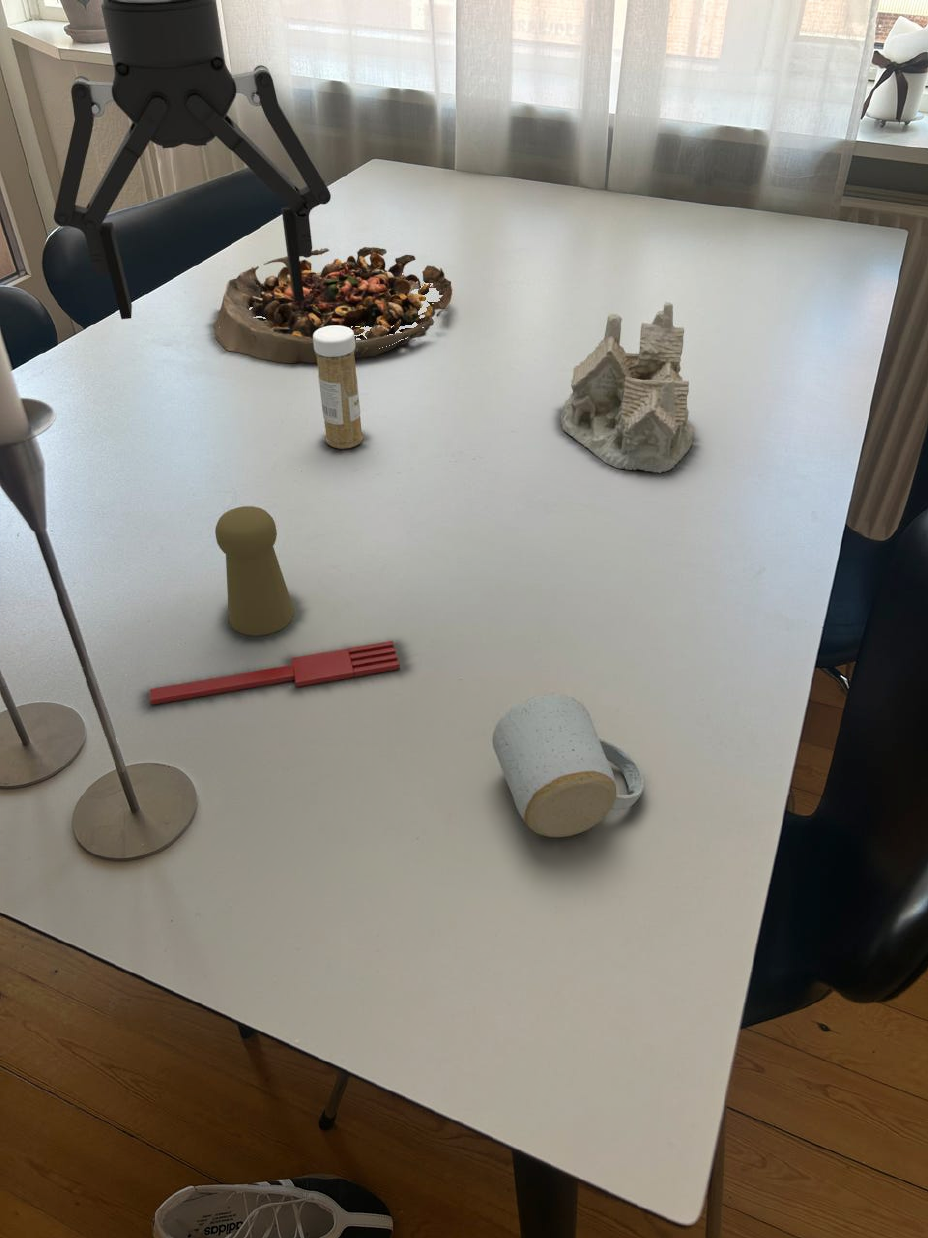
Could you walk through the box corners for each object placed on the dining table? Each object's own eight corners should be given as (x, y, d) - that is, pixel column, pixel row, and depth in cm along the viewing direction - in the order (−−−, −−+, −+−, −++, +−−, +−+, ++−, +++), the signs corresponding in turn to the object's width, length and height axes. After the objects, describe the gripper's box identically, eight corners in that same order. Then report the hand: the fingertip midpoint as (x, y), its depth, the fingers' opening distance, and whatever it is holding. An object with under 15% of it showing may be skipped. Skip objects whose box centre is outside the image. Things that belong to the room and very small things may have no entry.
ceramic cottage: (573, 392, 122) (584, 279, 112) (702, 418, 118) (726, 303, 108) (536, 459, 112) (544, 340, 102) (675, 490, 108) (699, 370, 97)
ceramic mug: (522, 855, 69) (528, 784, 64) (489, 770, 75) (492, 699, 70) (659, 824, 71) (675, 752, 66) (617, 744, 77) (628, 673, 72)
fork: (151, 712, 80) (149, 707, 80) (151, 686, 82) (149, 681, 82) (399, 669, 84) (399, 664, 83) (393, 645, 86) (392, 640, 86)
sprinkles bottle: (370, 443, 114) (361, 334, 105) (336, 454, 112) (324, 344, 103) (351, 427, 117) (341, 320, 108) (318, 437, 115) (305, 329, 106)
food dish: (438, 275, 157) (439, 226, 152) (466, 366, 133) (467, 312, 128) (219, 280, 153) (212, 230, 148) (205, 375, 128) (197, 319, 123)
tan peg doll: (216, 613, 90) (193, 514, 83) (270, 586, 93) (253, 488, 86) (251, 644, 86) (231, 544, 79) (307, 615, 89) (292, 516, 82)
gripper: (-52, 10, 59) (48, 339, 73) (351, -9, 64) (374, 305, 77) (-34, -7, 65) (55, 301, 78) (335, -24, 69) (359, 271, 83)
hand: (213, 303), depth 78 cm, fingers open, 13 cm apart
